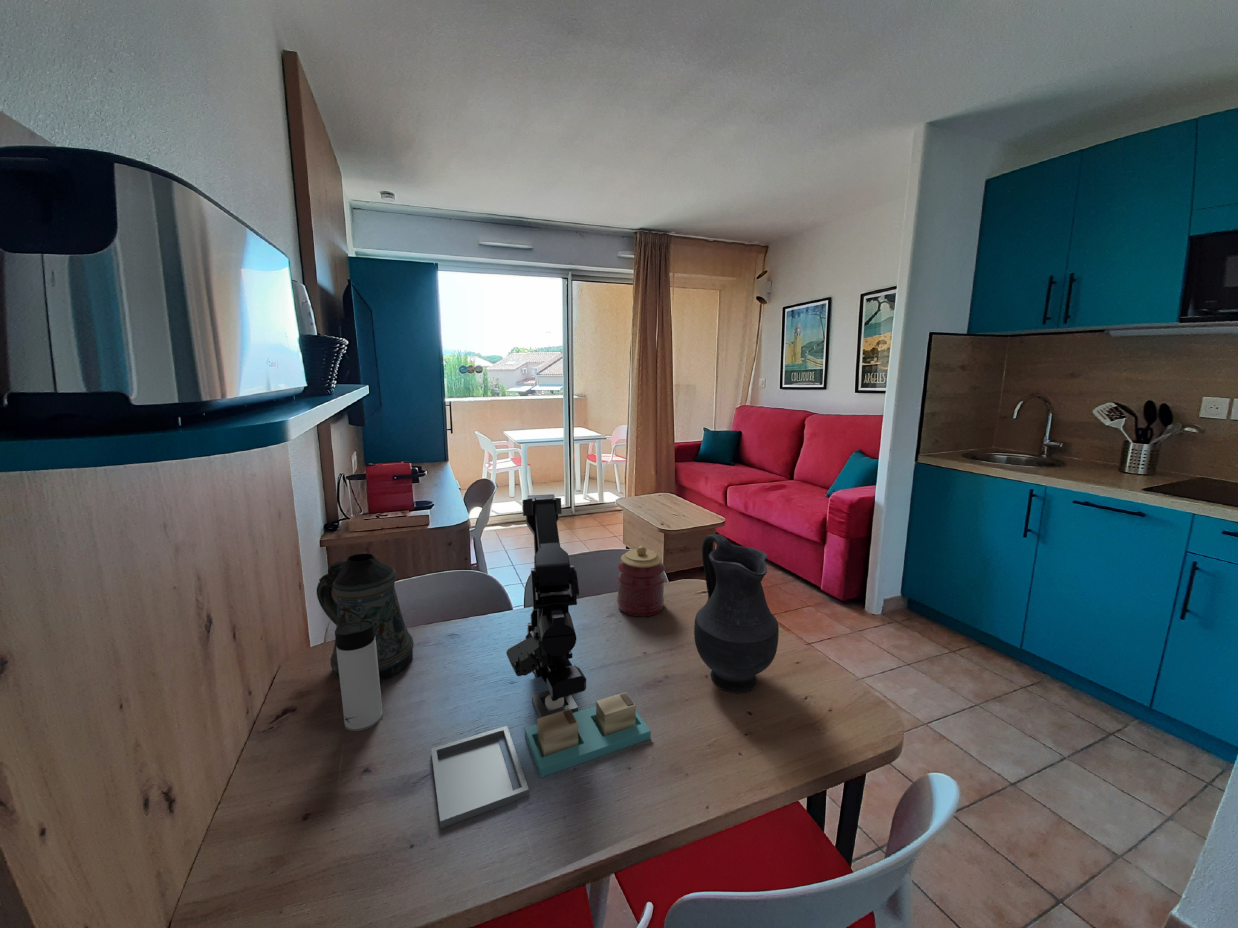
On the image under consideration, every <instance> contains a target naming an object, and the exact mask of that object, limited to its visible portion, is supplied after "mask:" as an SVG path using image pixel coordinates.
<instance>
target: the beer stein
mask: <svg viewBox="0 0 1238 928" xmlns="http://www.w3.org/2000/svg"><path fill="white" fill-rule="evenodd" d="M397 572H398V571H397V570H396V569H395V568H394V567H392V565H389V564H387V563H385V562H383V561H379V560H378V559H376V558H375V556H373V554H372V553H356V554H352V555H350V556H348V558H347V560H345V561H344V560H343V561H342V560H341V561H337V562H334V563H333V564H331V565H330V566H329V568H328V569H327V573H326V574H324V575H323V576H322V577H320V578H319V579H318V581H319V582H318V583H317V586H316V597H317V601H318V603H319V605H320V607H321V609H322V611H323V612H324V613H325V615H326V616H327V617H328V619H329V620H330V621H331V622H332V623H333V624H334V625H335V630H336V629H337V628H338V627H340V626H342V625H344V624H347V623H349V624H351V623H355V622H361V621H362V620H369V621H372V622H373V623H374V631H375V632H374V633H375V638H376V639H375V640H376V649H377V659H378V670H379V681H380V682H384V681H386V680H389V679H392V678H393V677H395V676H396V675H398V674H400V673H401V672H403V671H405V669H406V668H407V667H408V666H409V665H410V663H411V662H412V661H413V660H414V651H413V648H414V644H415V643H414V639H413V637H412V635H411V634H410V632H409V631H408V627H407V626H406V623H405V620H404V617H403V614H402V609H401V605H400V603H399V599H398V594H397V591H396V588H395V587H396V586H395V583H396V581H397V575H398V573H397ZM333 590H334V592H333ZM334 593H335V594H336V595H337V599H336V597H335V595H334ZM330 656H331V657H330V667H331V670H332V672H333V674H334V677H335V679H336V681H338V682H340V677H339V669H338V660H337V651H336V638H334V645H333V650H332V653H331V655H330Z"/></svg>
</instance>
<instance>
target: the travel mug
mask: <svg viewBox="0 0 1238 928" xmlns="http://www.w3.org/2000/svg"><path fill="white" fill-rule="evenodd" d="M374 632H375V631H374V623H373V622H372V621H369V620H362V621H361V622H355V623H351V624H349V623H347V624H344V625H342V626H340V627H338V628H337V629H336V628H335V630H334V635H335V636H334V637H335V638H336V651H337V660H338V669H339V677H340V681H339V684H340V685H339V686H340V694H341V701H342V713H343V719H344V720H343V722H344V729H345V730H348V731H351V732H360V731H366V730H368V729H370V728H372V727H374V726H375V725H377V724H378V723H379V722H380V721H382V720H383V716H384V713H383V705H382V693H381V683H380V681H379V670H378V659H377V649H376V640H375V639H376V638H375V633H374ZM335 638H334V639H335Z"/></svg>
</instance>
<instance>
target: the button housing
mask: <svg viewBox="0 0 1238 928" xmlns="http://www.w3.org/2000/svg"><path fill="white" fill-rule="evenodd" d="M548 695H550V693H549V690H548V689H547V690H546V691H542V692H539V693H535V694H532V695H531V703H532V707H533V708H534V710H535V713H536V714H537V717H538V718H541V717H544V716H548V715H551V714H554V713H558V712H561V711H564V710H567V709H571V711H572V713H574V712H577V711H579V706H578V705H577V703H576V702H575V701H576V700H574V697H573V695H569V696H565V697H564V707H561V708H558V709H554V710H551V711H548V712H547V711H546V709H545V698H546V697H547V696H548Z"/></svg>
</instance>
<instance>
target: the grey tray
mask: <svg viewBox="0 0 1238 928" xmlns="http://www.w3.org/2000/svg"><path fill="white" fill-rule="evenodd" d="M502 736H503V737H504V740H505V743H506V747H507V749H508V752H509V756H510V759H511V761H512V765H513V768H514V771H515V775H516V777H517V781H518V783H519V786H520V787H519V788H515V789H514V786H513V783H512V780H511V777H510V773H509V770H508V767H507V764H506V763H507V762H506V761H505V756H504V754H503V751H502V748H501V745H500V741H499V737H502ZM512 739H513V738H512V735H511V734H510V730H509V727H508V725H505V726H501V727H498V728H495V729H491V730H488V731H484V732H482V733H481V732H480V733H479V734H474V735H472V736H468V737H465V738H461V739H459V740H455V741H451V742H448V743H445V744H441V745H439V746H435V747H431V749H430V751H431V761H432V769H433V778H434V785H435V794H436V802H437V810H438V811H437V812H438V819H439V824H440V825H439V827H440V829H444V828H447V827H449V826H452V825H455V824H458V823H461V822H463V821H466V820H468V819H471V818H473V817H477V816H479V815H482V814H485V813H488V812H489V811H493V810H495V809H498V808H501V807H504V806H507V805H509V804H512V803H515V802H517V801H518V800H520V799H522V798H525V797H527V796H529V795H530V789H529V787H528V783H527V780H526V778H525V774H524V772H523V768H522V765H521V763H520V760H519V756H518V754H517V751H516V748H515V746H514V743H513V740H512Z"/></svg>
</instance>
